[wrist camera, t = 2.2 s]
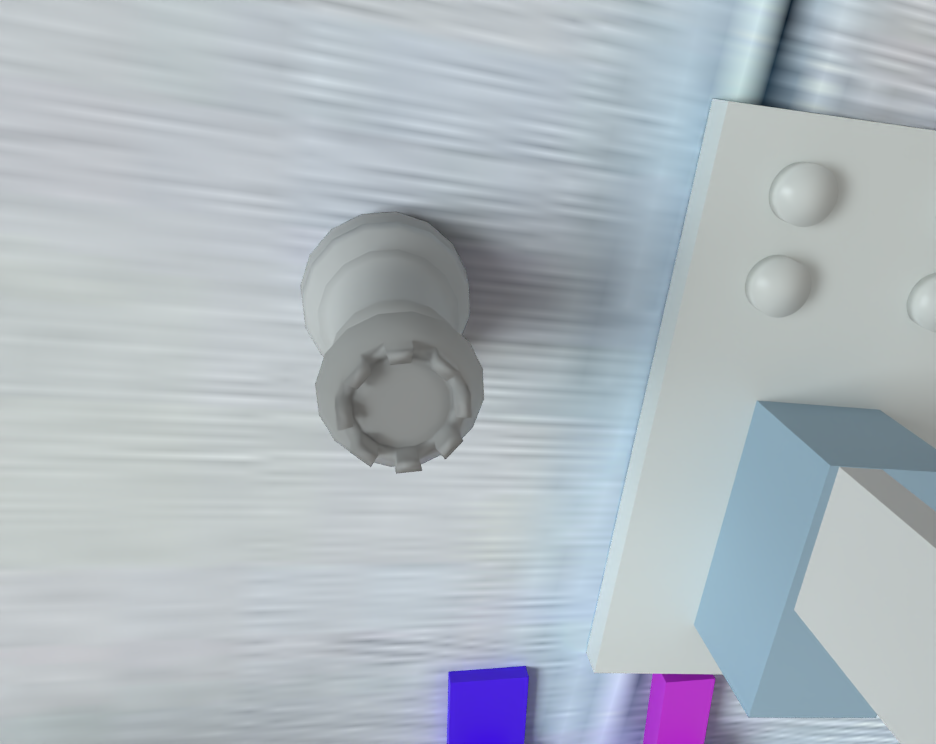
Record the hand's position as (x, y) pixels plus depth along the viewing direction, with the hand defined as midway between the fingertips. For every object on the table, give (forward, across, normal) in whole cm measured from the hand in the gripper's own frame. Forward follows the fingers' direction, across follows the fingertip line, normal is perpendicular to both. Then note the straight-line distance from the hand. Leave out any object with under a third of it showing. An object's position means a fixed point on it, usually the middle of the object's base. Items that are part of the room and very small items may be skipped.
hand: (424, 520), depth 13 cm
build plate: (+11, +13, -2) cm, 17 cm away
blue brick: (+10, +13, -6) cm, 17 cm away
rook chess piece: (+11, 0, 0) cm, 11 cm away
